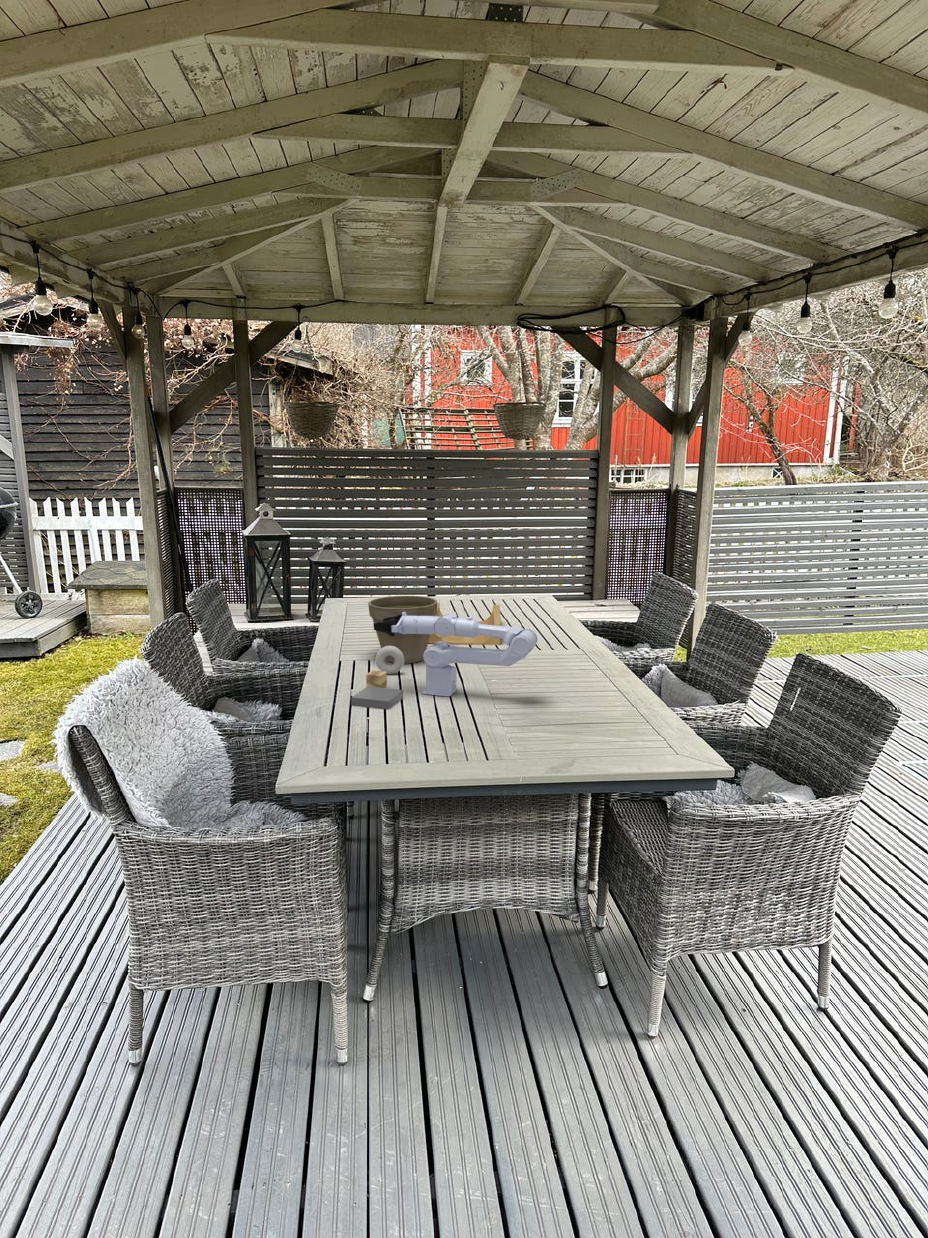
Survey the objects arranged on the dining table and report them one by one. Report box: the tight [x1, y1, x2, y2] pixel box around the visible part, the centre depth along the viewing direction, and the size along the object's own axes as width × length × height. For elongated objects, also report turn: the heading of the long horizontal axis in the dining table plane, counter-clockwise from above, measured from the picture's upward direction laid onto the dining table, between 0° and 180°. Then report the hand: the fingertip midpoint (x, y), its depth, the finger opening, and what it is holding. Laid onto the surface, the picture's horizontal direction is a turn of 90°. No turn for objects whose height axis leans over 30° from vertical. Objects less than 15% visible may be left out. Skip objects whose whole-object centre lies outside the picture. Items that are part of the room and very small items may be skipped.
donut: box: [374, 646, 405, 675], centre depth 270 cm, size 10×4×10 cm, turn 88°
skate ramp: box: [428, 597, 502, 646], centre depth 331 cm, size 40×35×16 cm
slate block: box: [350, 686, 404, 711], centre depth 242 cm, size 12×12×3 cm
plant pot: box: [367, 595, 438, 665], centre depth 289 cm, size 25×25×22 cm
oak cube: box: [365, 669, 388, 688], centre depth 255 cm, size 5×5×5 cm
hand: (378, 624), depth 253 cm, fingers open, 7 cm apart
